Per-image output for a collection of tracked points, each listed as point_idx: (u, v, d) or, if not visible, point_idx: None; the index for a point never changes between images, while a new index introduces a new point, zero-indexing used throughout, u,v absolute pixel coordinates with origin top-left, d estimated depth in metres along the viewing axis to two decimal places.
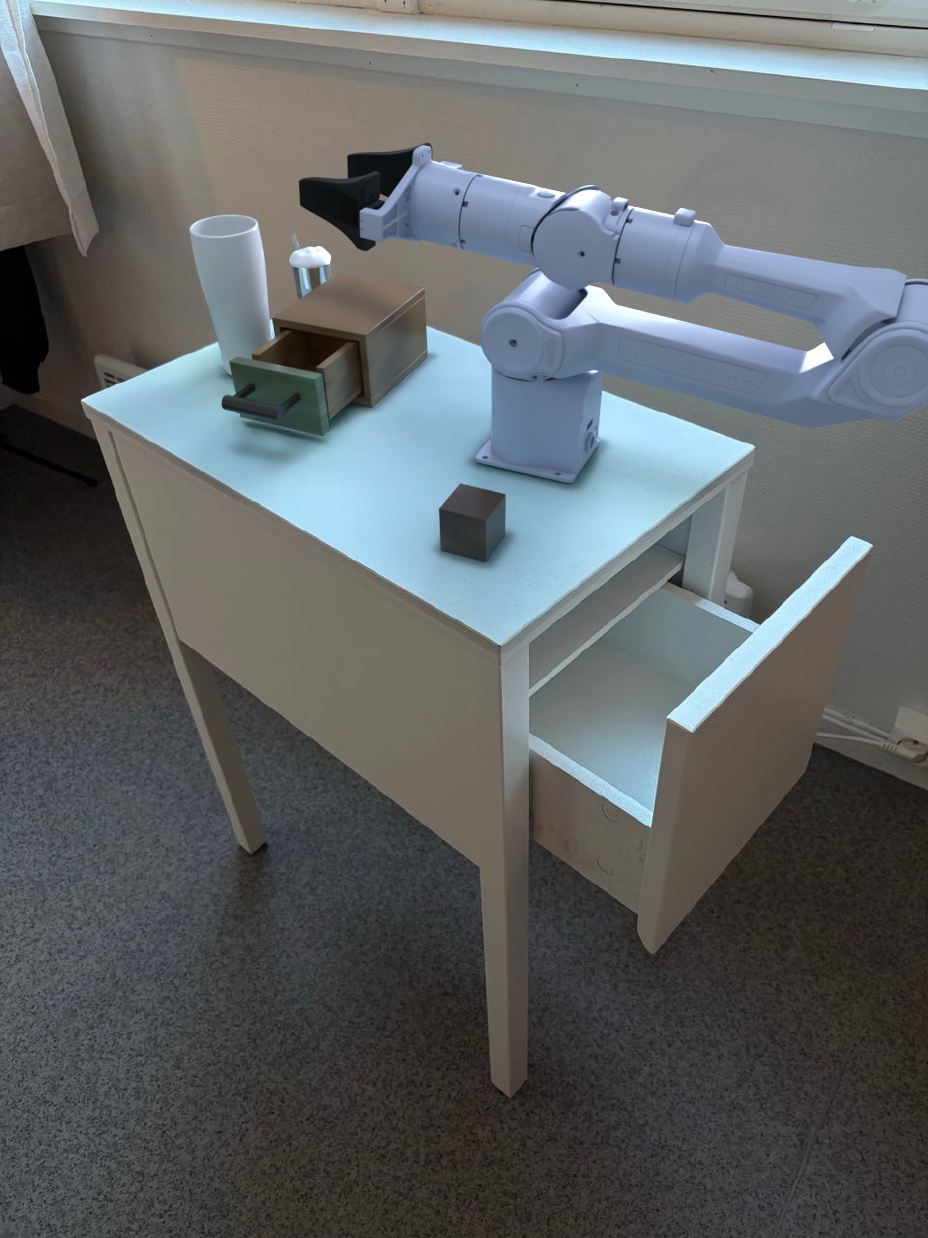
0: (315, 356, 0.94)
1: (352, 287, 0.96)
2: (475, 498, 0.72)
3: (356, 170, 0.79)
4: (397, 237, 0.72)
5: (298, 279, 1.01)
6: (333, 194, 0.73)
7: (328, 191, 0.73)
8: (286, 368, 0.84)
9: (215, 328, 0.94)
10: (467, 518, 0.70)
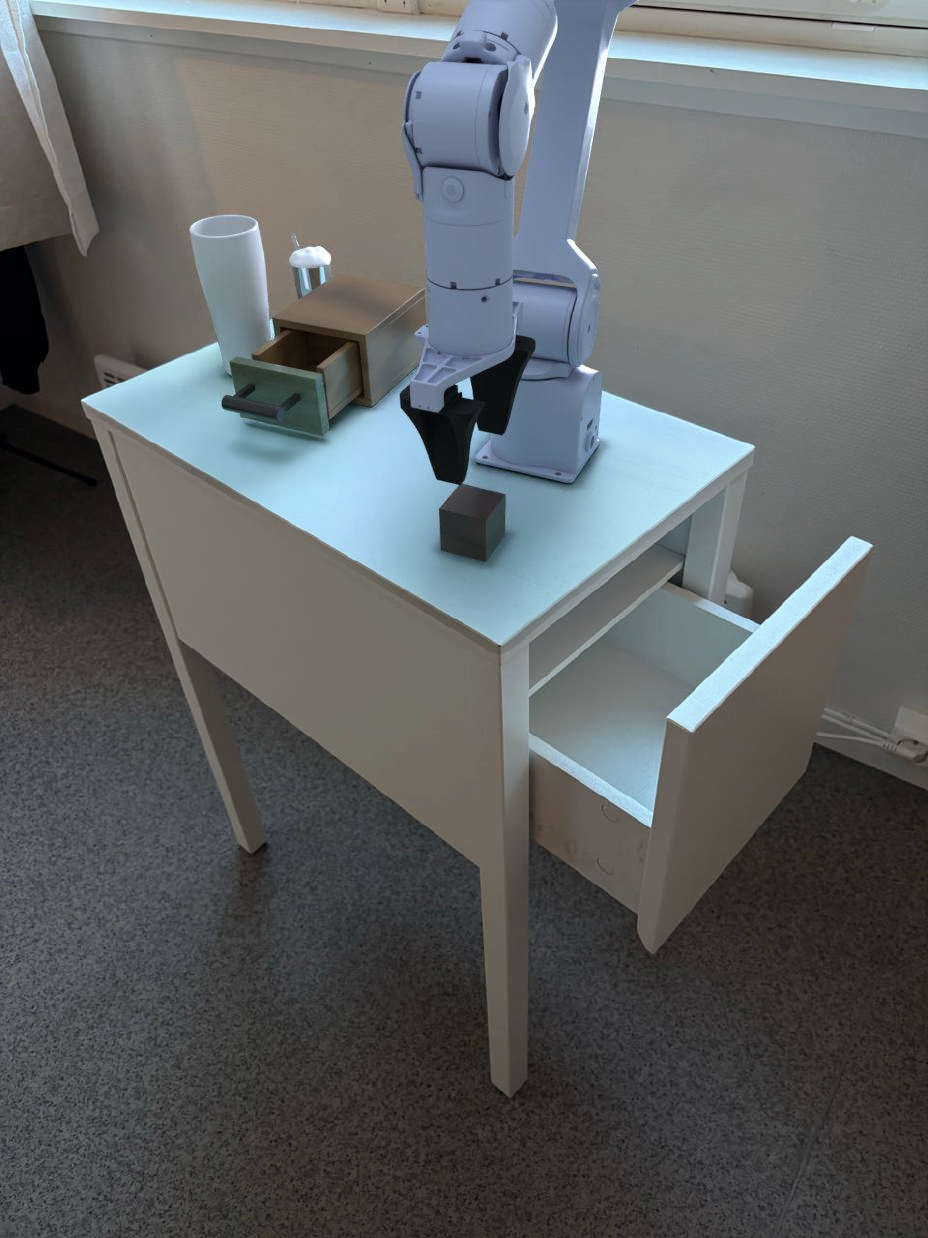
0: (315, 356, 0.94)
1: (352, 287, 0.96)
2: (475, 498, 0.72)
3: (491, 422, 0.71)
4: (460, 369, 0.59)
5: (298, 279, 1.01)
6: (438, 442, 0.64)
7: (436, 446, 0.64)
8: (286, 368, 0.84)
9: (215, 328, 0.94)
10: (467, 518, 0.70)
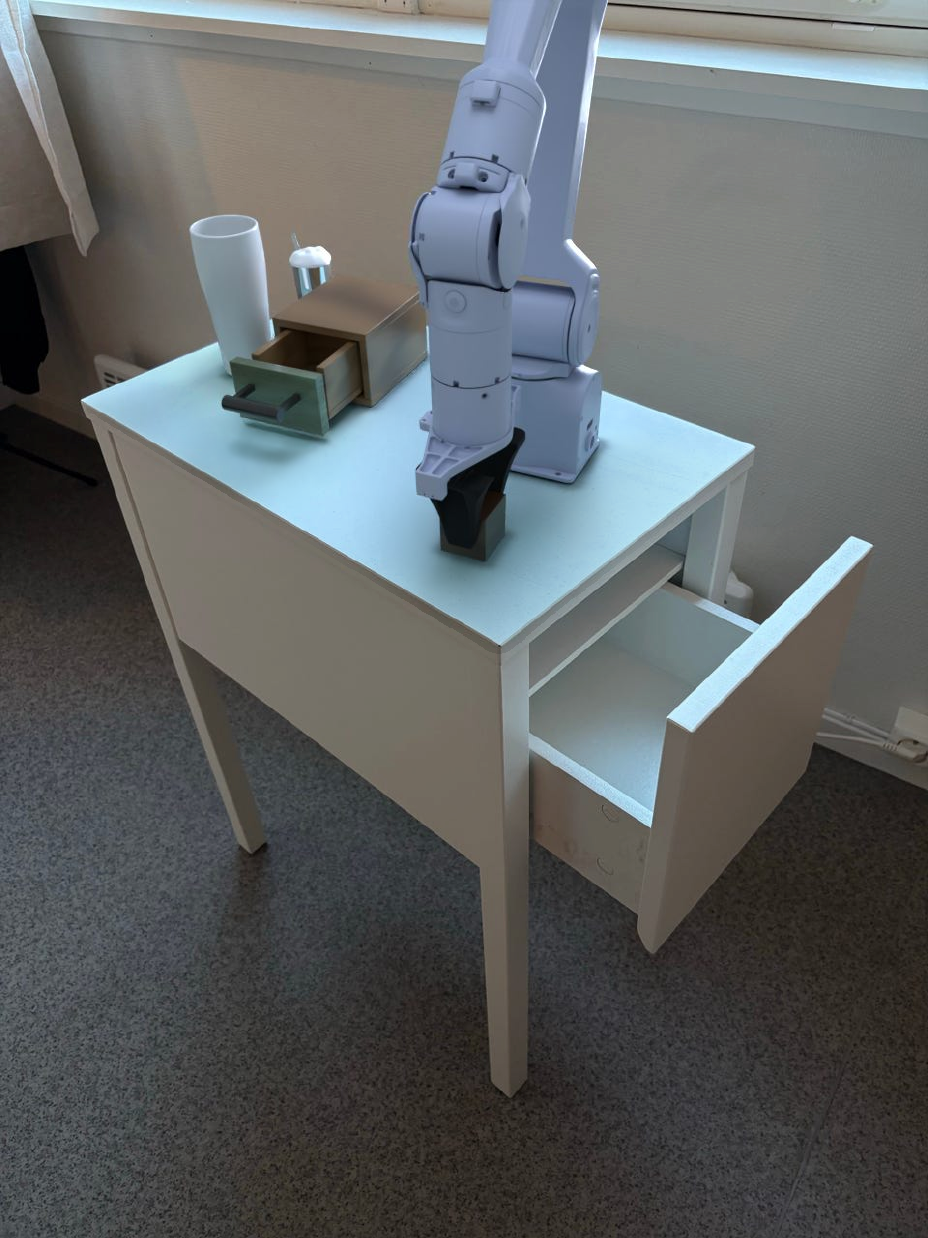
0: (315, 356, 0.94)
1: (352, 287, 0.96)
2: None
3: None
4: (462, 460, 0.64)
5: (298, 279, 1.01)
6: (450, 510, 0.70)
7: (448, 515, 0.70)
8: (286, 368, 0.84)
9: (215, 328, 0.94)
10: None
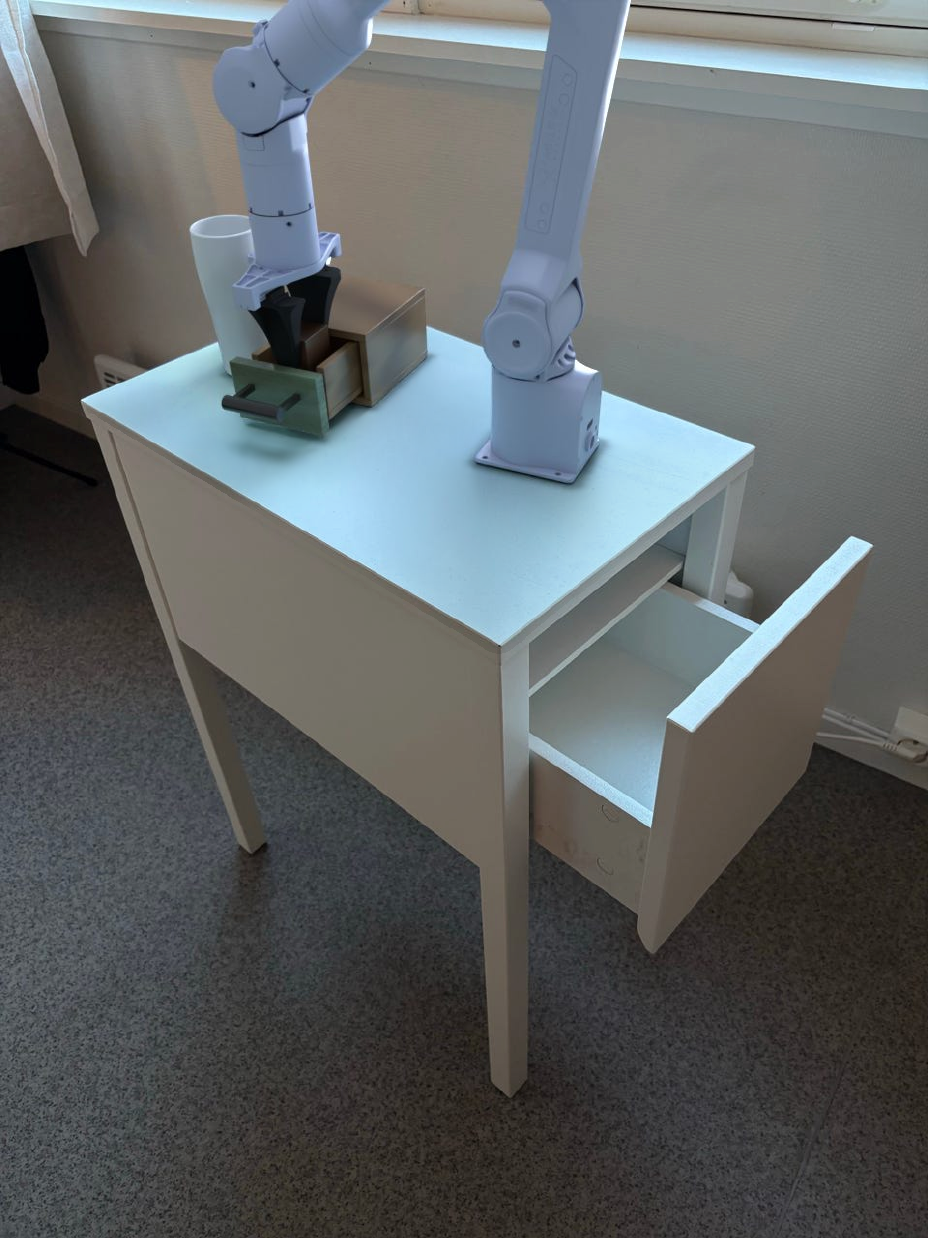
0: None
1: (352, 287, 0.96)
2: (301, 327, 0.86)
3: None
4: (272, 278, 0.78)
5: None
6: (275, 333, 0.84)
7: (274, 337, 0.84)
8: (286, 368, 0.84)
9: (215, 328, 0.94)
10: None
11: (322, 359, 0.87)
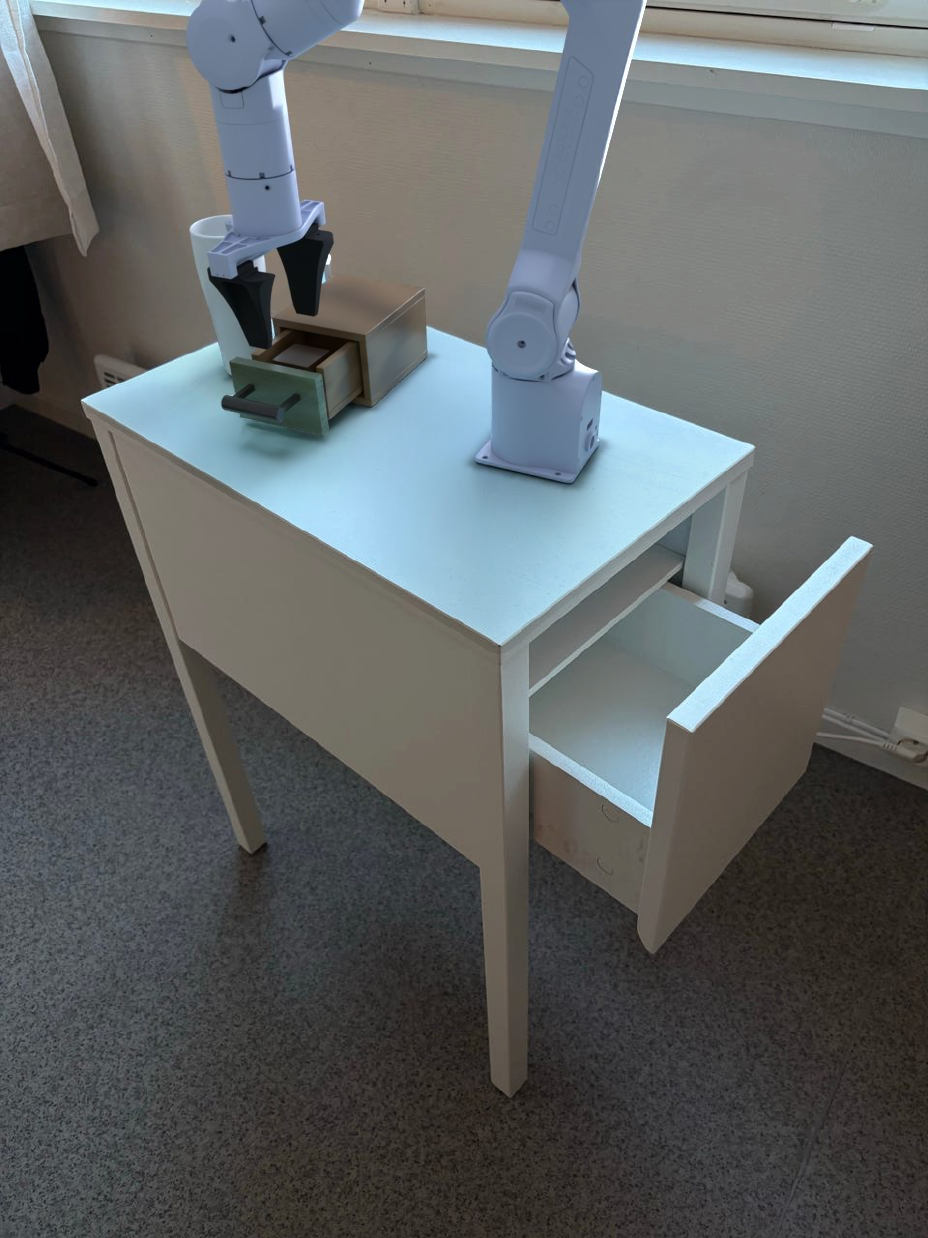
0: None
1: (352, 287, 0.96)
2: (303, 353, 0.88)
3: (304, 305, 0.86)
4: (250, 245, 0.74)
5: None
6: (245, 311, 0.79)
7: (244, 315, 0.79)
8: (286, 368, 0.84)
9: (215, 328, 0.94)
10: (293, 366, 0.86)
11: None
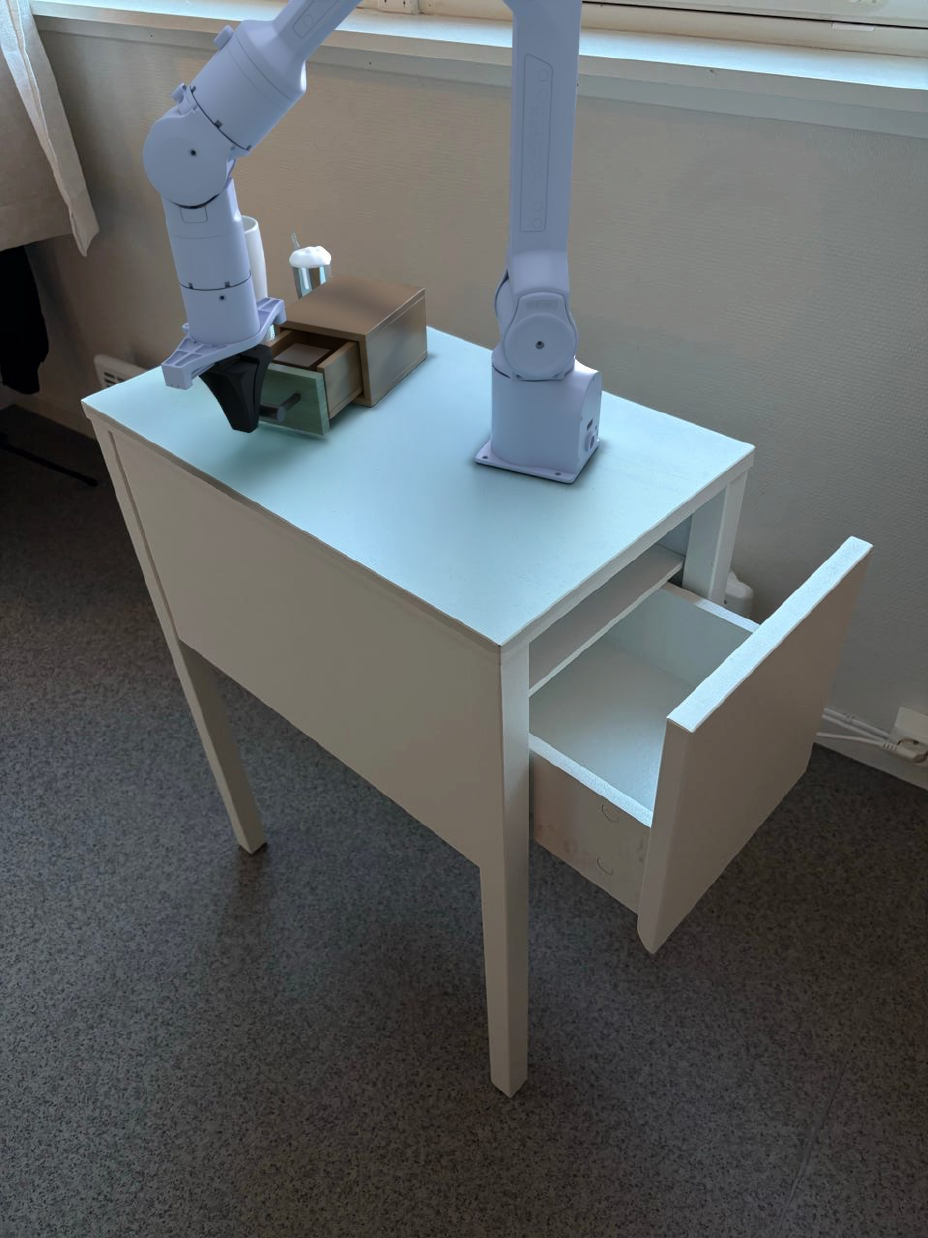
0: None
1: (352, 287, 0.96)
2: (304, 352, 0.88)
3: None
4: (205, 355, 0.73)
5: (298, 279, 1.01)
6: (227, 397, 0.80)
7: (227, 401, 0.80)
8: (286, 368, 0.84)
9: None
10: (294, 366, 0.86)
11: None
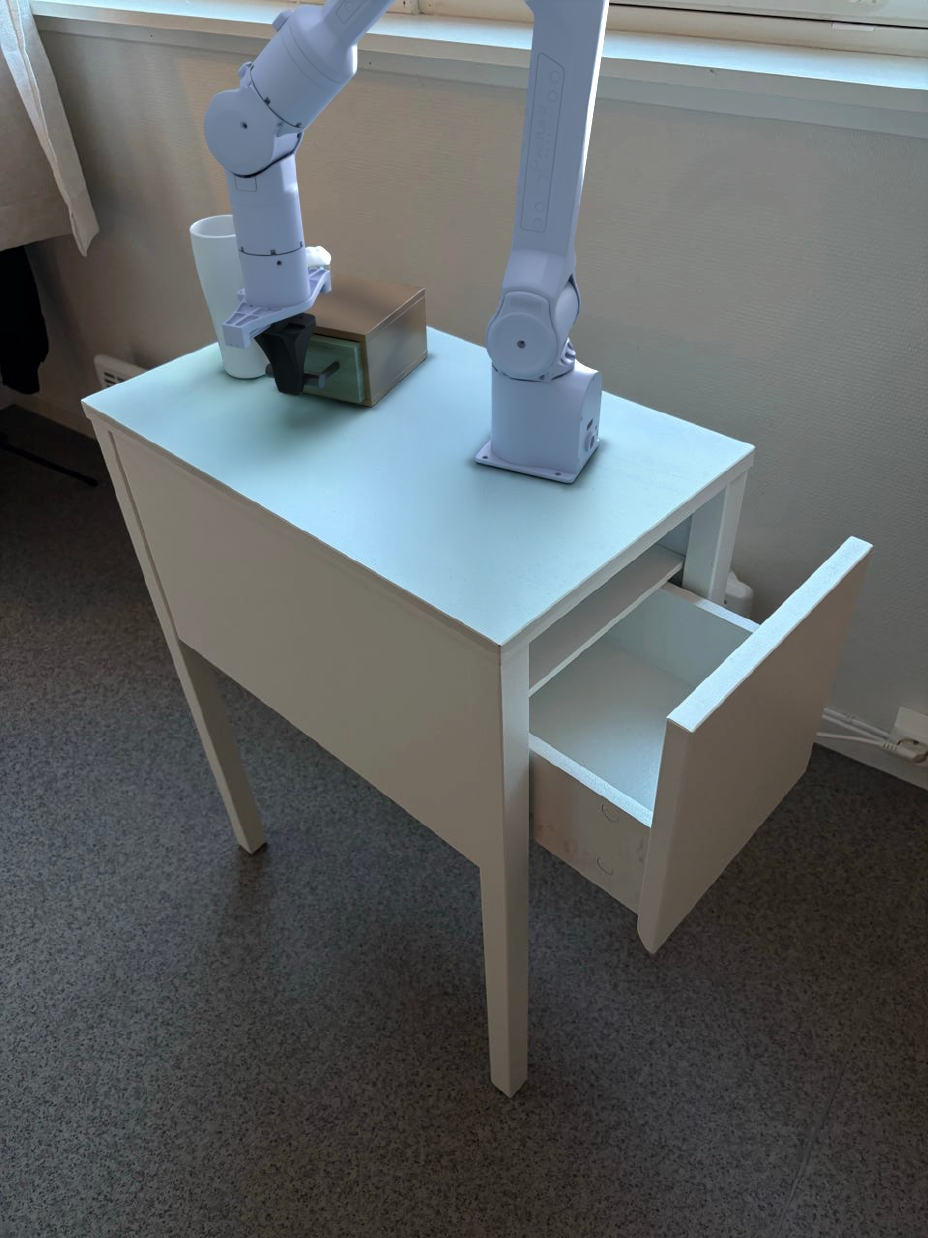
0: None
1: (352, 287, 0.96)
2: None
3: (287, 385, 0.86)
4: (262, 316, 0.78)
5: None
6: (279, 359, 0.85)
7: (278, 363, 0.86)
8: (326, 338, 0.88)
9: (215, 328, 0.94)
10: (332, 337, 0.91)
11: None
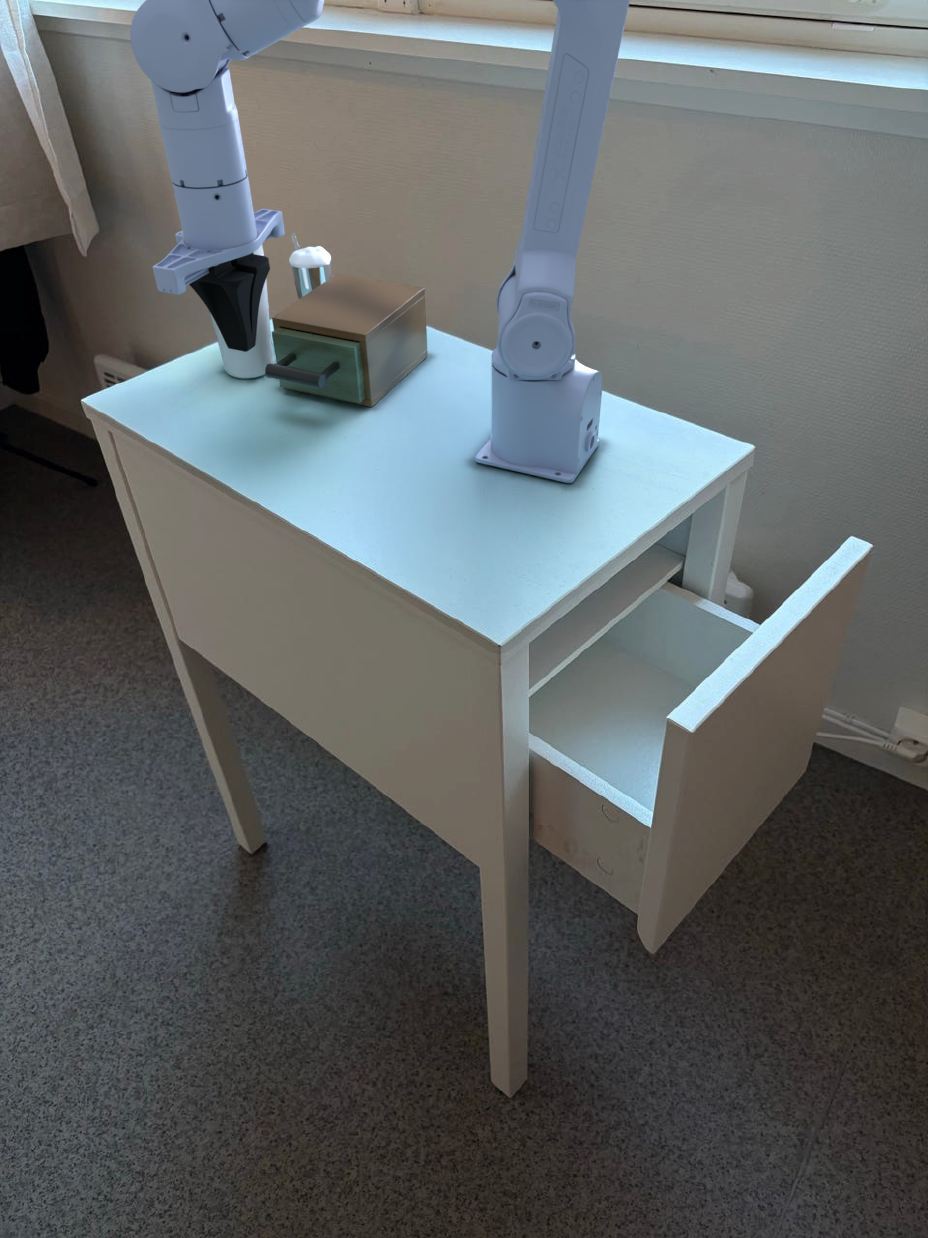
0: None
1: (352, 287, 0.96)
2: None
3: None
4: (199, 258, 0.69)
5: (298, 279, 1.01)
6: (223, 312, 0.76)
7: (222, 317, 0.77)
8: (326, 338, 0.88)
9: (215, 328, 0.94)
10: (332, 337, 0.91)
11: None
